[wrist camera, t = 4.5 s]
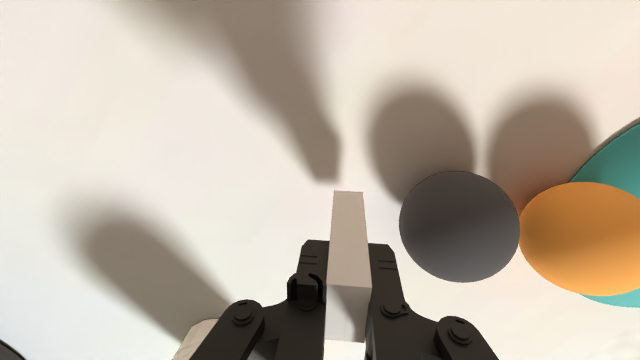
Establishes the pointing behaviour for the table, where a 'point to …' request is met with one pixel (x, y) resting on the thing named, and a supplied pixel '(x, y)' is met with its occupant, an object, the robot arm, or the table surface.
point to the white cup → (194, 339)
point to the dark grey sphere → (459, 226)
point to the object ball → (584, 238)
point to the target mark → (623, 173)
